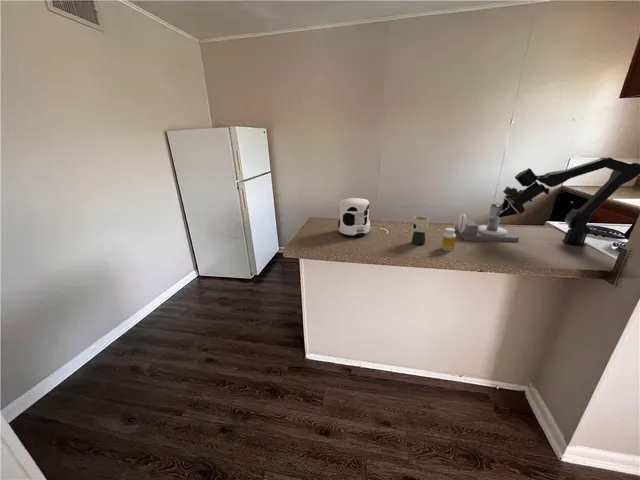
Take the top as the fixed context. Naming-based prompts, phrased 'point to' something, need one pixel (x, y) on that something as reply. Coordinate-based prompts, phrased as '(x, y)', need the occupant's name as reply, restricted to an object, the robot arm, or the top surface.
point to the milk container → (354, 217)
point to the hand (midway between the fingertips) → (497, 214)
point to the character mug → (419, 229)
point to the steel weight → (494, 217)
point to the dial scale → (482, 231)
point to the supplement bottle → (448, 239)
